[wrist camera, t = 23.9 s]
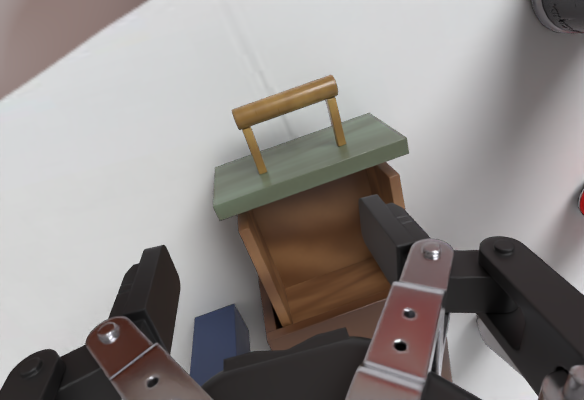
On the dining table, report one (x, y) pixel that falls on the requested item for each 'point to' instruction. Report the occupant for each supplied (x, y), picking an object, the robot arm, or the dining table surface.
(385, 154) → the drawer
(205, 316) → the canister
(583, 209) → the beverage can
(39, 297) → the dining table surface
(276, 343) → the cabinet
